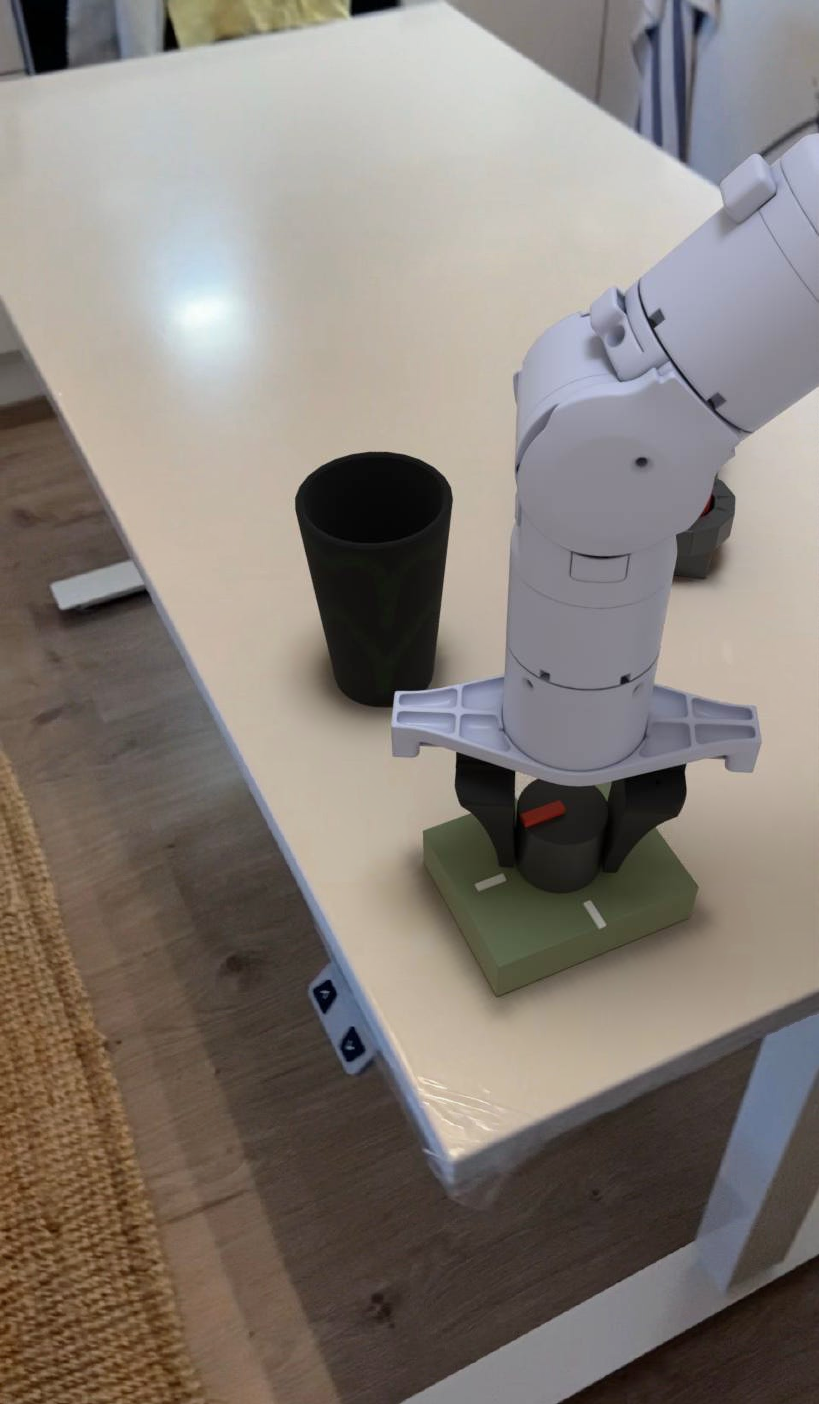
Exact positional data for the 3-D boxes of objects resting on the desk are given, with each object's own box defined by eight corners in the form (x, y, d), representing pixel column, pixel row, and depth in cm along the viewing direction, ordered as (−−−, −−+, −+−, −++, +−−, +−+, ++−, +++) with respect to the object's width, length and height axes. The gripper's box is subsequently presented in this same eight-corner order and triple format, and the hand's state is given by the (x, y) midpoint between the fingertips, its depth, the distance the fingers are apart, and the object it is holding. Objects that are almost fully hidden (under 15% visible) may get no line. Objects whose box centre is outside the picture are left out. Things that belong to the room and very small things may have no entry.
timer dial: (575, 811, 56) (582, 757, 53) (618, 875, 54) (627, 822, 51) (499, 839, 55) (501, 785, 52) (538, 906, 53) (543, 853, 50)
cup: (396, 742, 63) (386, 568, 54) (287, 681, 66) (261, 508, 57) (479, 659, 67) (483, 484, 58) (373, 605, 70) (361, 432, 61)
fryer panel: (603, 792, 60) (608, 758, 58) (692, 919, 55) (701, 886, 53) (422, 860, 58) (421, 826, 56) (497, 999, 52) (499, 967, 50)
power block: (576, 397, 85) (580, 347, 82) (733, 413, 83) (743, 362, 80) (537, 567, 72) (541, 515, 69) (721, 590, 70) (733, 537, 67)
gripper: (768, 571, 46) (712, 790, 56) (397, 559, 47) (406, 776, 57) (793, 703, 42) (727, 917, 51) (380, 686, 43) (393, 900, 53)
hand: (558, 852), depth 54 cm, fingers closed on timer dial, 4 cm apart
